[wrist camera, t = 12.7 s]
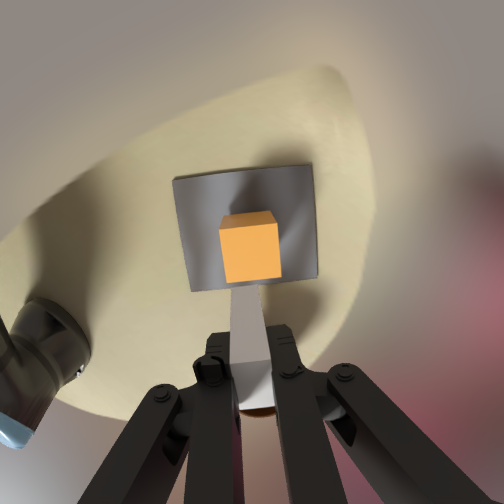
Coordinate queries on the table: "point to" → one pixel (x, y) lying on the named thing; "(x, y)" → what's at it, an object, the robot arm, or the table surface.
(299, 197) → the grey rubber mat
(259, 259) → the orange foam cube
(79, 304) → the table surface
